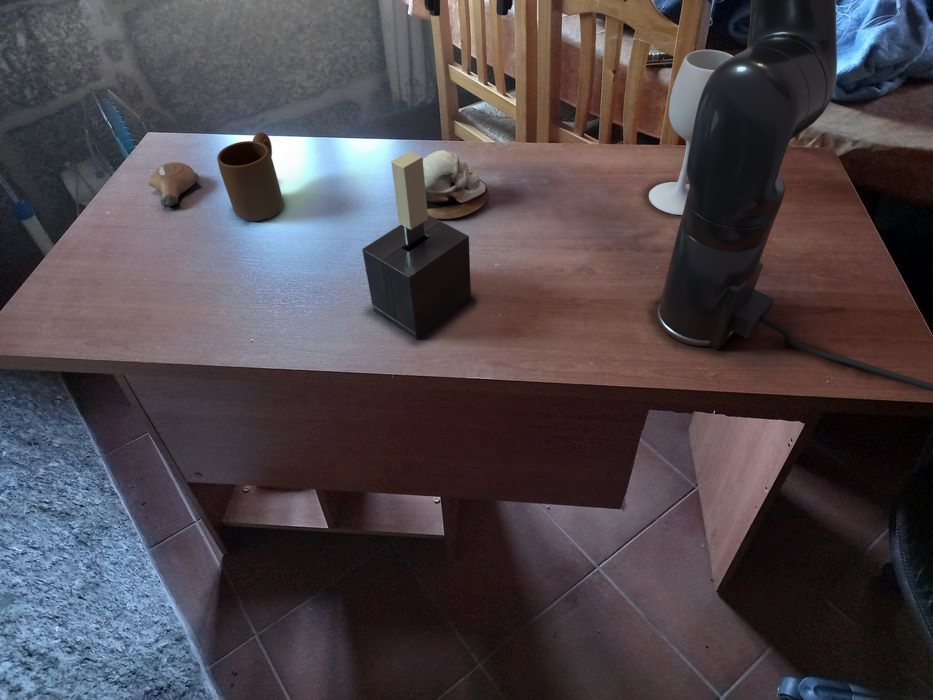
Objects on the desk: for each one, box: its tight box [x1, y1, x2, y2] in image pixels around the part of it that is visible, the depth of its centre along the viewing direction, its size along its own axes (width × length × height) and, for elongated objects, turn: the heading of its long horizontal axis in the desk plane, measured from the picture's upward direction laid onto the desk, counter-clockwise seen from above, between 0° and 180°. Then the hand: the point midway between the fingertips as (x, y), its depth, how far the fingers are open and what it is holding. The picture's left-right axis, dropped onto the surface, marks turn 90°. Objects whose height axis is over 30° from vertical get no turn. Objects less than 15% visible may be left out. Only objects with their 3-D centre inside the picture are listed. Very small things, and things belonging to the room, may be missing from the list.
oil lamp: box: [147, 161, 200, 208], centre depth 103 cm, size 9×4×8 cm
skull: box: [423, 149, 489, 220], centre depth 100 cm, size 12×10×10 cm
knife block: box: [361, 215, 472, 340], centre depth 81 cm, size 8×10×10 cm
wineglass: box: [648, 49, 734, 216], centre depth 92 cm, size 9×9×21 cm
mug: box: [216, 131, 284, 222], centre depth 99 cm, size 12×8×9 cm, turn 171°
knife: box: [390, 151, 428, 252], centre depth 77 cm, size 2×3×20 cm
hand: (469, 15), depth 78 cm, fingers open, 8 cm apart
